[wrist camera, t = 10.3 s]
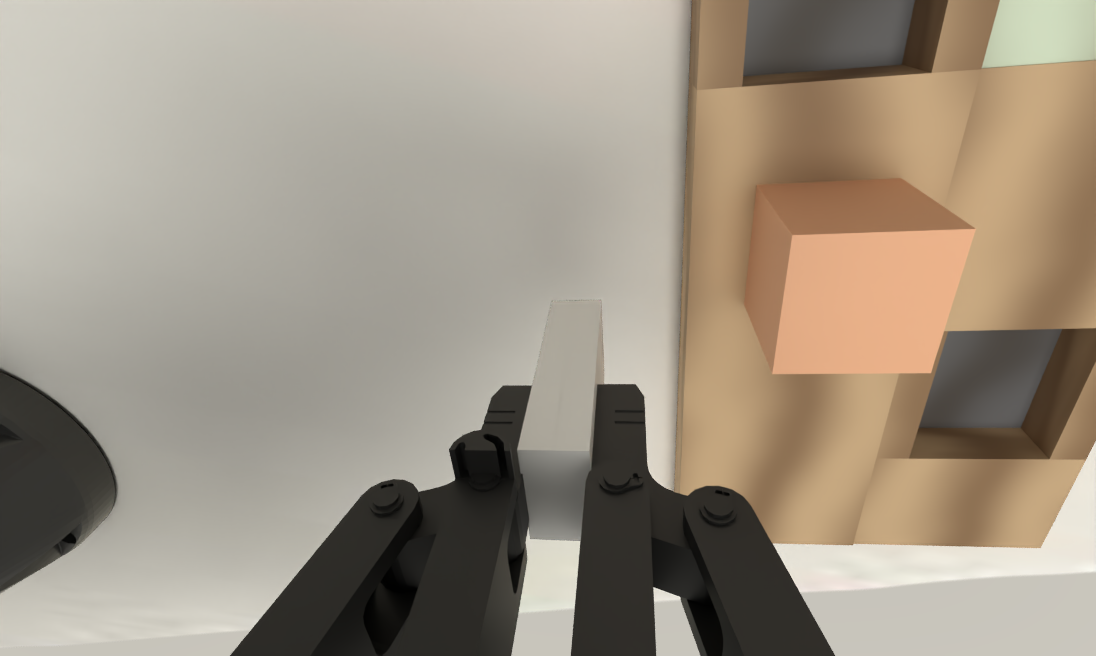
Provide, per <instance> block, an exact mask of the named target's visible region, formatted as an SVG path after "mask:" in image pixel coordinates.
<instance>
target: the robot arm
mask: <svg viewBox="0 0 1096 656" xmlns="http://www.w3.org/2000/svg"><path fill="white" fill-rule="evenodd" d="M449 452H450V456H451V461H452V465H453V469H454V474H455V481H453V482H451V483H449V484H447V485H444V486H441V487H438V488H434V489H430V490H425V491H421V492H418V490H417V489H416V487H415V486H414V485H413V484H412V483H410V482H408V481H405V480H395V479H393V480H389V481H384V482H381V483H379V484H377V485H375V486H373V487H371V488H370V489H369V490H367V491H366V492H365V493H364V494H363V495H362V496H361V497H360V498H359V500H358V501H357V502H356V503H355V504H354V506H353V507H352V508H351V509H350V511H349V512H348V513H347V514H346V515H345V517H344V518H343V519H342V520H341V521H340V523H339V524H338V525H337V526H336V528H335V529H334V530H333V531H332V532H331V534H330V535H329V536H328V537H327V538H326V540H325V541H324V542H323V543H322V545H321V546H320V547H319V548H318V549H317V551H316V552H315V553H314V554H313V555H312V557H311V558H310V559H309V560H308V562H307V563H306V564H305V565H304V566H303V568H302V569H301V570H300V571H299V572H298V574H297V575H296V576H295V577H294V579H293V580H292V581H291V582H290V583H289V585H288V586H287V587H286V588H285V589H284V591H283V592H282V593H281V594H280V596H279V597H278V598H277V599H276V600H275V602H274V603H273V604H272V605H271V607H270V608H269V609H268V610H267V611H266V613H265V614H264V615H263V616H262V617H261V619H260V620H259V621H258V622H257V624H256V625H255V626H254V627H253V628H252V630H251V631H250V632H249V634H248V635H247V636H246V637H245V638H244V639H243V641H242V642H241V643H240V644H239V645H238V647H237V648H236V649H235V650H234V652H233V653H232V654H231V655H230V656H511V653H512V647H513V641H514V635H515V630H516V623H517V618H518V612H519V606H520V600H521V594H522V588H523V582H524V576H525V570H526V564H527V550H526V544H525V541H526V536H527V530H528V527H529V534H530V539H544V540H570V541H581V542H580V554H579V566H578V578H577V589H576V601H575V613H574V614H575V615H574V625H573V637H572V649H571V656H656V642H655V618H654V594H653V587H655V588H658V589H661V590H663V591H666V592H669V593H672V594H674V595H677V596H680V597H681V602H682V605H683V608H684V610H685V613H686V616H687V619H688V621H689V624H690V627H691V630H692V633H693V636H694V639H695V641H696V644H697V647H698V650H699V652H700V655H701V656H835V655H834V653H833V651H832V650H831V648H830V646H829V644H828V642H827V640H826V639H825V637H824V635H823V633H822V631H821V630H820V628H819V626H818V624H817V622H816V621H815V619H814V617H813V615H812V614H811V612H810V610H809V608H808V607H807V605H806V603H805V601H804V599H803V598H802V596H801V594H800V592H799V590H798V588H797V587H796V585H795V583H794V581H793V580H792V578H791V576H790V574H789V572H788V571H787V569H786V567H785V565H784V563H783V562H782V560H781V558H780V556H779V555H778V553H777V551H776V549H775V547H774V546H773V544H772V542H771V540H770V538H769V537H768V535H767V533H766V531H765V530H764V528H763V526H762V524H761V522H760V521H759V519H758V517H757V515H756V513H755V512H754V510H753V508H752V506H751V505H750V504H749V502H748V501H747V500H746V499H745V498H744V497H743V496H742V495H741V494H739V493H737V492H736V491H734V490H732V489H729V488H725V487H722V486H704V487H701V488H698V489H695V490H694V491H693V492H691V493H690V494H689V495H688V496H687V495H683V494H680V493H676V492H673V491H671V490H668V489H666V488H664V487H663V486H661V485H660V484H658V483H657V482H656V481H655V480H654V479H653V478H652V476H651V475H650V473H649V471H648V466H647V450H646V427H645V404H644V396H643V394H642V393H641V391H640V390H639V389H638V387H637V386H636V384H604V354H603V330H602V307H601V300H569V301H552V302H551V306H550V311H549V315H548V319H547V324H546V328H545V332H544V336H543V341H542V345H541V349H540V354H539V358H538V362H537V367H536V371H535V375H534V379H533V384H532V386H502V387H501V388H500V389H499V390H498V391H497V392H496V393H495V395H494V396H493V397H492V398H491V401H490V404H489V407H488V410H487V414H486V417H485V420H484V424H483V426H482V429H481V430H478V431H473V432H470V433H468V434H465V435H463V436H461V437H460V438H459V439H457V440H456V441H455V442H454V443H453V445H452V446H451V448H450V449H449ZM114 500H115V485H114V480H113V477H112V473H111V471H110V468H109V466H108V464H107V462H106V460H105V458H104V457H103V455H102V453H101V452H100V450H99V449H98V447H97V446H96V445H95V443H94V442H93V441H92V439H91V438H90V437H89V436H88V435H87V433H86V432H85V431H84V430H83V429H82V428H81V427H80V426H79V425H78V424H77V423H76V422H75V421H74V420H73V419H72V418H71V417H70V416H68V415H67V414H66V413H65V412H64V411H63V410H61V409H60V408H59V407H58V406H56V405H55V404H54V403H52V402H51V401H50V400H48V399H47V398H46V397H44V396H43V395H41V394H40V393H38V392H37V391H35V390H33V389H32V388H30V387H28V386H27V385H25V384H23V383H21V382H20V381H18V380H16V379H14V378H12V377H10V376H8V375H6V374H4V373H1V372H0V593H2V592H3V591H5V590H7V589H8V588H10V587H12V586H13V585H15V584H17V583H18V582H20V581H22V580H23V579H25V578H27V577H28V576H30V575H32V574H33V573H35V572H37V571H38V570H40V569H42V568H43V567H45V566H47V565H48V564H50V563H52V562H53V561H55V560H56V559H58V558H60V557H61V556H63V555H65V554H67V553H68V552H70V551H71V550H73V549H74V548H76V547H77V546H78V545H79V544H81V543H82V542H83V541H84V540H85V539H86V538H87V537H88V536H89V535H90V534H91V533H92V532H93V531H94V530H95V529H96V528H97V526H98V525H99V524H100V523H101V522H102V521H103V520H104V519H105V518H106V517H107V516H108V514H109V513H110V511H111V509H112V507H113V504H114Z"/></svg>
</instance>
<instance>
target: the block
mask: <svg viewBox="0 0 1096 656" xmlns="http://www.w3.org/2000/svg"><path fill="white" fill-rule="evenodd" d="M975 231H976V228H974V227H973V226H971V225H970V224H968V223H967V222H965V221H964V220H962V219H961V218H959V217H958V216H956V215H955V214H953V213H952V212H951V211H949V210H948V209H946V208H945V207H943V206H942V205H940V204H939V203H937V202H936V201H934V200H933V199H931V198H930V197H928V196H927V195H926V194H924V193H923V192H921V191H920V190H918V189H917V188H915V187H914V186H912V185H911V184H909V183H908V182H906V181H905V180H903V179H902V178H894V179H872V180H850V181H828V182H806V183H784V184H762V185H757V187H756V196H755V205H754V215H753V224H752V234H751V243H750V252H749V262H748V271H747V281H746V290H745V299H744V305H745V308H746V310H747V313H748V315H749V318H750V320H751V323H752V325H753V328H754V330H755V333H756V335H757V338H758V340H759V343H760V345H761V348H762V350H763V352H764V355H765V357H766V360H767V362H768V365H769V367H770V370H771V372H772V374H884V373H931V371H932V368H933V365H934V362H935V358H936V355H937V352H938V349H939V346H940V343H941V339H942V336H943V333H944V330H945V327H946V323H947V320H948V317H949V314H950V311H951V307H952V304H953V301H954V298H955V295H956V291H957V288H958V285H959V282H960V279H961V275H962V272H963V269H964V266H965V263H966V259H967V256H968V253H969V250H970V247H971V243H972V240H973V237H974V234H975Z"/></svg>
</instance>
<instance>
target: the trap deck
mask: <svg viewBox="0 0 1096 656" xmlns="http://www.w3.org/2000/svg"><path fill="white" fill-rule="evenodd" d="M894 178H902V179H903V180H905V181H906V182H908V183H909V184H911V185H912V186H914V187H915V188H917V189H918V190H920V191H921V192H923V193H924V194H926V195H927V196H928V197H930V198H931V199H933V200H934V201H936V202H937V203H939V204H940V205H942V206H943V207H945V208H946V209H948V210H949V211H951V212H952V213H953V214H955V215H956V216H958V217H959V218H961V219H962V220H964V221H965V222H967V223H968V224H970V225H971V226H973V227H974V228H976V231H975V234H974V237H973V240H972V243H971V247H970V250H969V253H968V256H967V259H966V263H965V266H964V269H963V272H962V275H961V279H960V282H959V285H958V288H957V291H956V295H955V298H954V301H953V304H952V307H951V311H950V314H949V317H948V320H947V323H946V327H945V330H944V333H943V336H942V339H941V343H940V346H939V349H938V352H937V355H936V358H935V362H934V365H933V368H932V371H931V373H884V374H772V372H771V370H770V367H769V365H768V362H767V360H766V357H765V355H764V352H763V350H762V348H761V345H760V343H759V340H758V338H757V335H756V333H755V330H754V328H753V325H752V323H751V320H750V318H749V315H748V313H747V310H746V308H745V305H744V299H745V290H746V281H747V271H748V262H749V252H750V243H751V234H752V224H753V215H754V205H755V196H756V187H757V185H762V184H784V183H806V182H828V181H850V180H872V179H894ZM1095 441H1096V0H692V10H691V38H690V66H689V94H688V122H687V150H686V178H685V206H684V234H683V261H682V289H681V317H680V345H679V373H678V401H677V429H676V457H675V485H674V492H676V493H680V494H683V495H687V496H688V495H689V494H690V493H691V492H693V491H694V490H695V489H698V488H701V487H704V486H722V487H725V488H729V489H732V490H734V491H736V492H737V493H739V494H741V495H742V496H743V497H744V498H745V499H746V500H747V501H748V502H749V504H750V505H751V506H752V508H753V510H754V512H755V513H756V515H757V517H758V519H759V521H760V522H761V524H762V526H763V528H764V530H765V531H766V533H767V535H768V537H769V538H770V540H771V542H772V543H782V544H823V545H853V544H889V545H932V546H974V547H1017V548H1041V546H1042V544H1043V542H1044V540H1045V538H1046V536H1047V534H1048V532H1049V530H1050V528H1051V527H1052V525H1053V523H1054V521H1055V519H1056V517H1057V515H1058V513H1059V511H1060V509H1061V507H1062V505H1063V503H1064V501H1065V499H1066V497H1067V496H1068V494H1069V492H1070V490H1071V488H1072V486H1073V484H1074V482H1075V480H1076V478H1077V476H1078V474H1079V472H1080V470H1081V468H1082V466H1083V464H1084V463H1085V461H1086V459H1087V457H1088V455H1089V453H1090V451H1091V449H1092V447H1093V445H1094V443H1095Z"/></svg>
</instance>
